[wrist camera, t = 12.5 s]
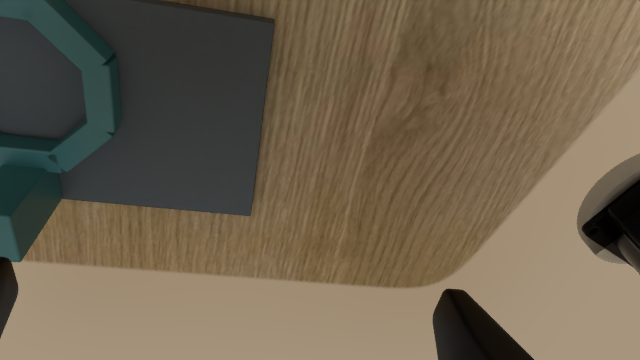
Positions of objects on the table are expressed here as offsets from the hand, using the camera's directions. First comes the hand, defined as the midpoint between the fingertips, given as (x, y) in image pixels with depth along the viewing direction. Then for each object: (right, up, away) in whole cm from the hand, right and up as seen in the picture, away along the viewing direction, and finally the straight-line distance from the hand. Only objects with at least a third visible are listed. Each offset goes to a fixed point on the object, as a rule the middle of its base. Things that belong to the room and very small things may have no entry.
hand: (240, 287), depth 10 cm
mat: (-10, +6, +8) cm, 14 cm away
